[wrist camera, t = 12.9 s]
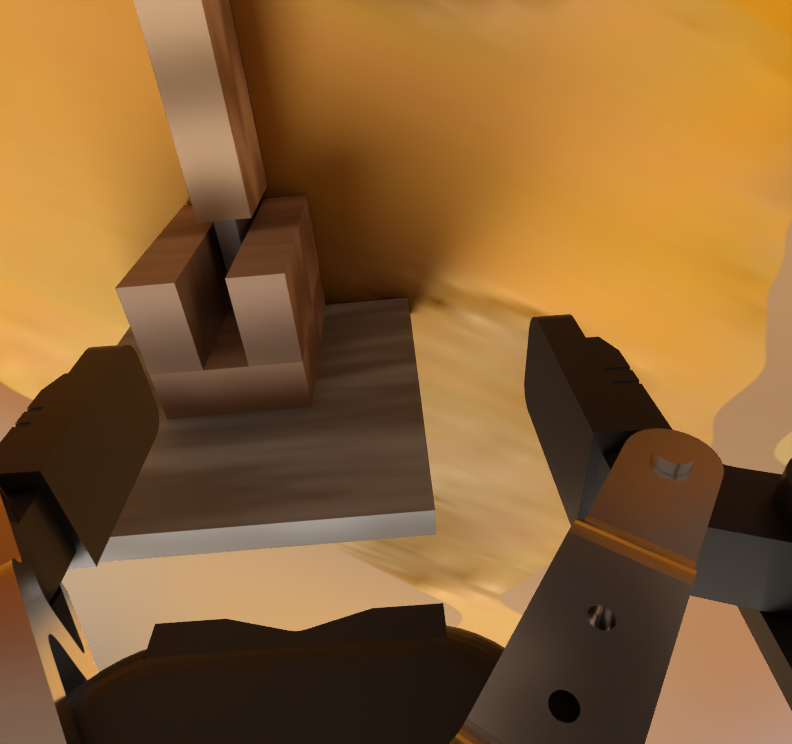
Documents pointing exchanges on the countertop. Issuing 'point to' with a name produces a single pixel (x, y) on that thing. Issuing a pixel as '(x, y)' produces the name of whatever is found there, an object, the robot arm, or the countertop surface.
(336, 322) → the slotted block base plate
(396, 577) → the countertop surface
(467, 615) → the countertop surface
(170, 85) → the rail
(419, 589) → the countertop surface
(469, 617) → the countertop surface
